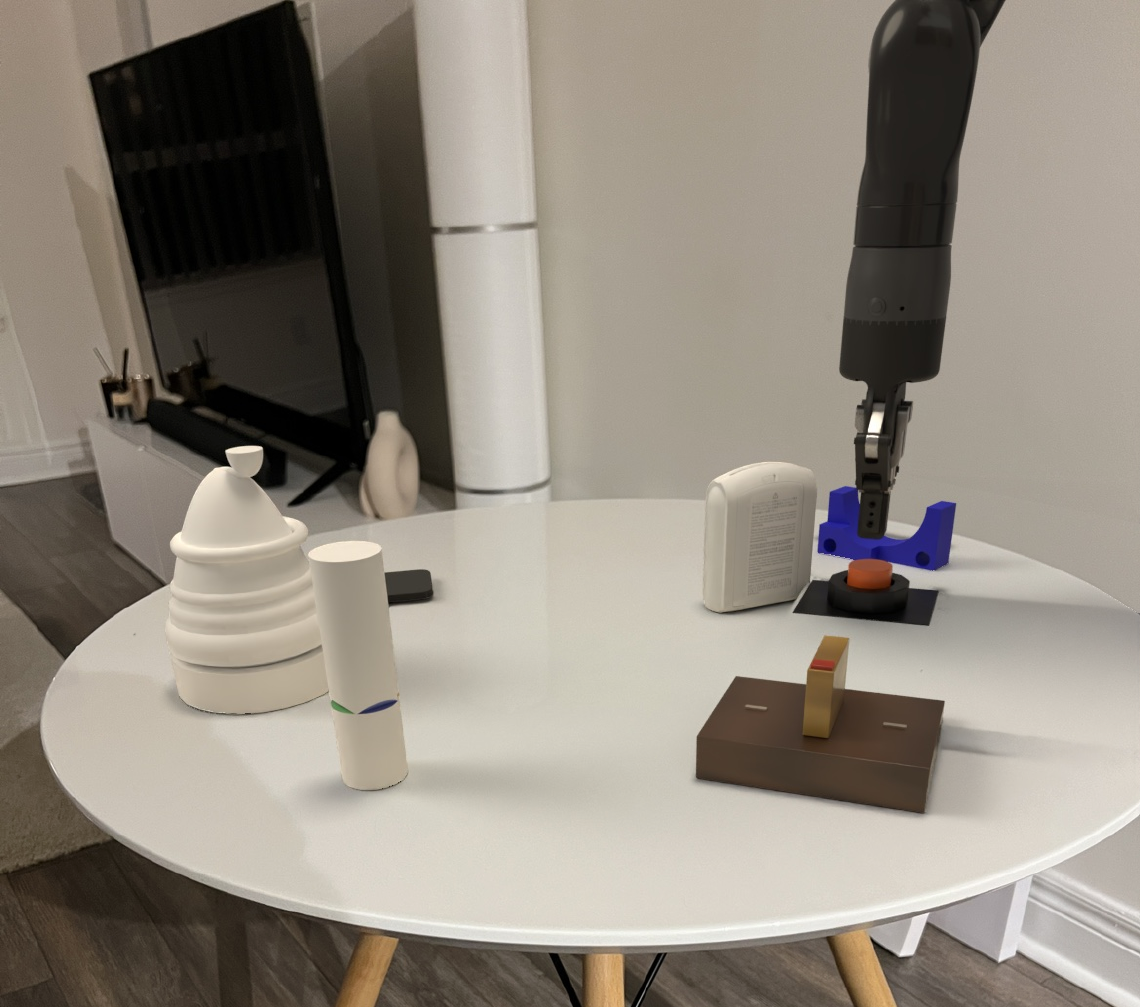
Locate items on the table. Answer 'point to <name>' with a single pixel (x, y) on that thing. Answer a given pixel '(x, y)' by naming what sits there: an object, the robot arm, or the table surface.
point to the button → (869, 573)
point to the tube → (359, 662)
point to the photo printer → (758, 535)
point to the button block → (868, 601)
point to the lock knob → (825, 686)
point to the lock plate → (823, 744)
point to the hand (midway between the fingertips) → (871, 536)
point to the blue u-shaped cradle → (918, 551)
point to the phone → (408, 585)
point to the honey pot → (242, 599)
